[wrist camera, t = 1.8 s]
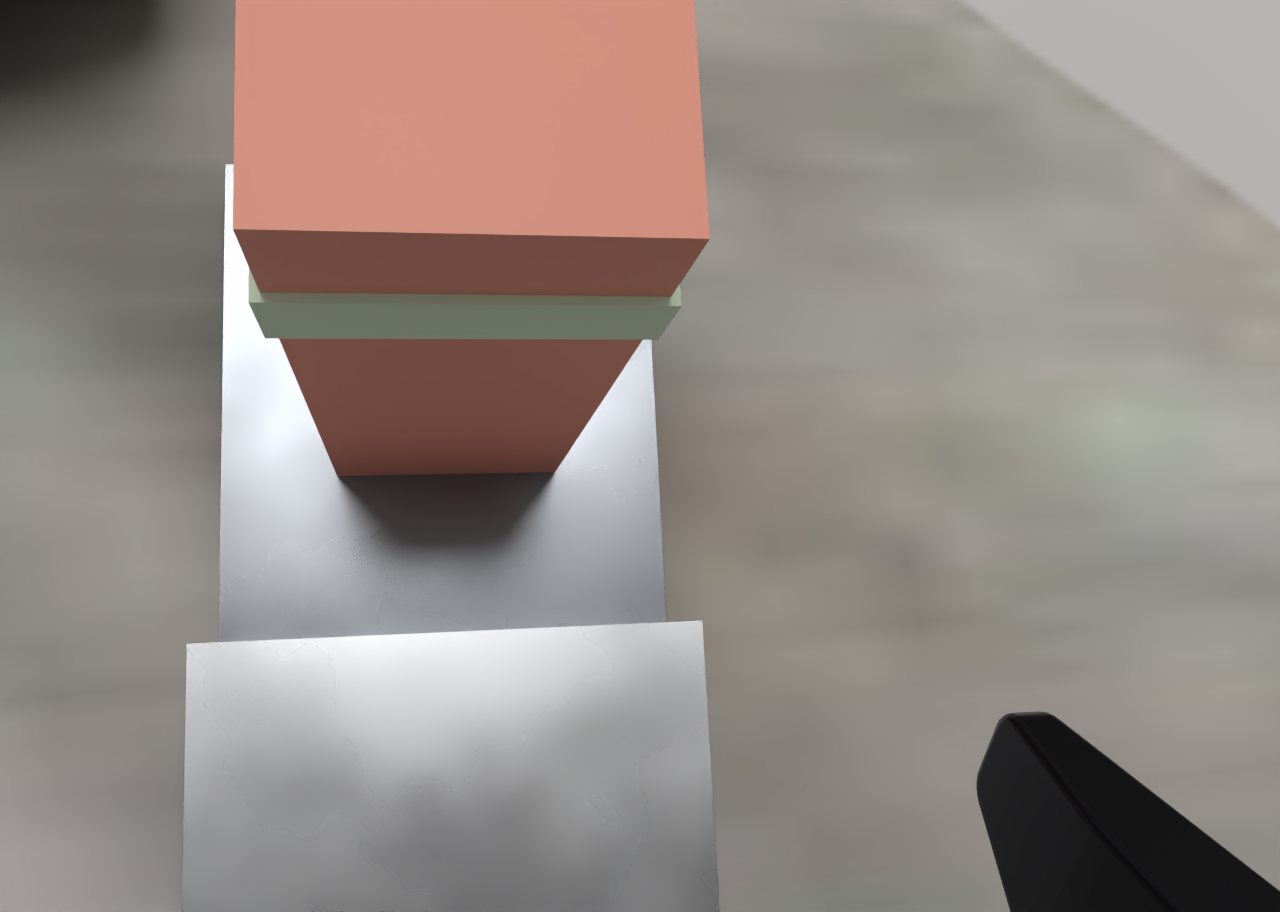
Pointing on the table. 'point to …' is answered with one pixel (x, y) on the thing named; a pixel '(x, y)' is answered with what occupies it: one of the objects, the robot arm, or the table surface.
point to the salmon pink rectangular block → (464, 214)
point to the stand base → (423, 516)
